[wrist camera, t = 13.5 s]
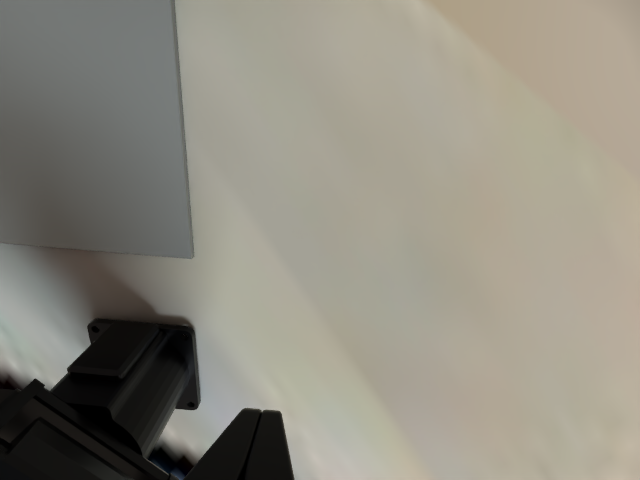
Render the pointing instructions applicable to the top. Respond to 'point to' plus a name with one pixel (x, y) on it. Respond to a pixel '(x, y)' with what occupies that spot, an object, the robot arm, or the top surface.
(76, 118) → the grey flat panel
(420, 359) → the top surface
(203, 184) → the top surface
